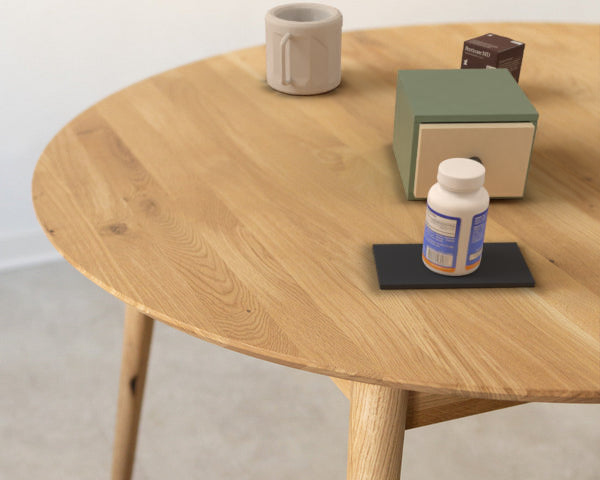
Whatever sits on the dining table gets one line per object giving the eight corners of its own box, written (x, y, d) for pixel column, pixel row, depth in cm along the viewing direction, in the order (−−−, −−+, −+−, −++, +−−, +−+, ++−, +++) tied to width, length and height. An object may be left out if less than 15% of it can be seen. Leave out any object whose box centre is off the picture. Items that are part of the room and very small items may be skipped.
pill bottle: (468, 244, 75) (481, 151, 70) (488, 275, 71) (504, 178, 65) (413, 250, 75) (422, 156, 69) (431, 281, 70) (441, 183, 65)
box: (455, 93, 109) (462, 40, 105) (482, 83, 113) (490, 32, 108) (490, 105, 106) (498, 51, 101) (517, 95, 109) (526, 42, 105)
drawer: (525, 202, 81) (538, 131, 77) (416, 203, 81) (423, 133, 77) (495, 147, 93) (505, 83, 88) (400, 148, 92) (404, 84, 88)
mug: (283, 66, 119) (282, -2, 113) (350, 75, 116) (353, 5, 110) (246, 97, 108) (243, 24, 103) (319, 108, 105) (320, 32, 99)
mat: (515, 246, 76) (516, 241, 76) (534, 286, 70) (535, 282, 70) (372, 248, 76) (372, 244, 76) (379, 289, 70) (380, 284, 70)
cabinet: (523, 198, 84) (539, 113, 78) (407, 200, 84) (414, 115, 78) (495, 145, 95) (507, 68, 90) (392, 147, 95) (397, 69, 89)
